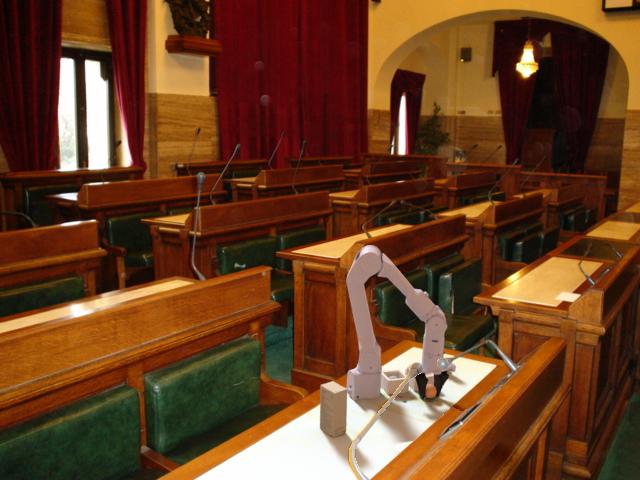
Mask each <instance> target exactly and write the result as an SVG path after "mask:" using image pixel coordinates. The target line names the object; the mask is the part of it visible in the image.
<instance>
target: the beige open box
mask: <svg viewBox="0 0 640 480" xmlns="http://www.w3.org/2000/svg"><path fill="white" fill-rule="evenodd" d="M406 373H407V368H405V371H404V374H405V375H406V376H407V374H406ZM425 375H426V378H427V379H428V383H427V384H432V385H434V373H427V374H425ZM409 388H410V389H411V390H412V391H413V392H419V390H418V385H417V382H416V379H415V377H414V378H413V379H411V380H410V381H409Z"/></svg>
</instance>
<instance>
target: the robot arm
mask: <svg viewBox="0 0 640 480" xmlns="http://www.w3.org/2000/svg"><path fill="white" fill-rule="evenodd" d="M376 274H377V277H381V278H387V279H388V280H389V281H390V282H391V283H392V284H393V286H395V287H396V288H397V289H398V291H400V292H401V294H402V295H404V296H405V304H406V306H407V307H408V308H409V309H410V310H411V311H412V312H413V313H414V314H415V316H416V317H418V319H419V320H420V321H421V322H424V323H425V324H424V334H423V341H422V342H423V343H422V354H421V355H422V356H421V363H420V364H422V367H423V371H422V373H421V374H419V375H417V376H416V377H415V379H416V382H417V385H418V390H419V391H418V396H419V398H420V397H421V398H422V399H425V393H426V386H427V383H428V379H427V378H426V375H425V374H427V373H433V374H434V386H435V388H436V390H437V393H436V395H435V396H436V397H438V398H439V397H440V394H441V392H442V390H443V387H444V385H445V384H446V382H447V380H448V379H449V377H450V375H449V373H448V372H452V373H455V372H456V368H457V365H456V364H455V363H454V362H450V363H451V364H450V366H449V367H448V368H447V369H446V370H444V371H442V370H441V369H440V368H439V367H438V366H437V360H438V359H440V358H443V359H444V356H443V349H444V350H445V332H446V331H447V329H448V323H447V319H446V316H445V313H444V312H443V310H442V309H441V308H440V307H439V305H436V304H435V303H433V301H432V300H431V299H430V298H429V296H430V294H429V293H428V292H427V291H423V290H422V289H418V288H414V287H413V286H412V284H411V283H410V282H409V281H408V279H407V278H406V277H405V276H404V275H403V274H402V272H401V271H400V270H399V268H397V266H396V265H395V264H394V262H393V261H392V260H391V259H390V258H389V257H388V256H387V255H386V254H385V253H382V252H381V250H380V248H378V246H375V245H371V244H370V245H368V244H367V245H366V246H363V247H362V248H361V249H360V250H359V251H358V253H356V255H355V258H354V260H353V262H352V265H351V267H350V269H349V271H348V273H347V276H346V279H345V280H346V281H345V282H346V286H347V291H348V297H349V301H350V307H351V312H352V315H353V321H354V325H355V326H354V327H355V331H356V337H357V341H358V351H359V358H358V363H357V364H356V367H355V368H353V369H349V370H348V371H347V375H346V389H347V396H349V397H350V398H351V399H352V401H359V400H363V399H371V400H372V399H377V398H378V397H380V396H381V389H382V388H381V376H382V371H383V368H382V367H383V366H382V361H381V355H382V348H381V346H380V345H379V343H378V342H377V340H376V336H375V334H374V332H375V331H374V328H373V323H372V322H373V321H372V318H371V314H370V313H371V312H370V308H369V303H368V299H367V298H368V297H367V294H366V289H365V283H366V282H367V281H368V280H369V278H370V277H373V276H374V275H376ZM410 367H411V366H408V367H406V369H407V373H406V374H407V375H408V373H409V368H410ZM422 399H421V400H422Z"/></svg>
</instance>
